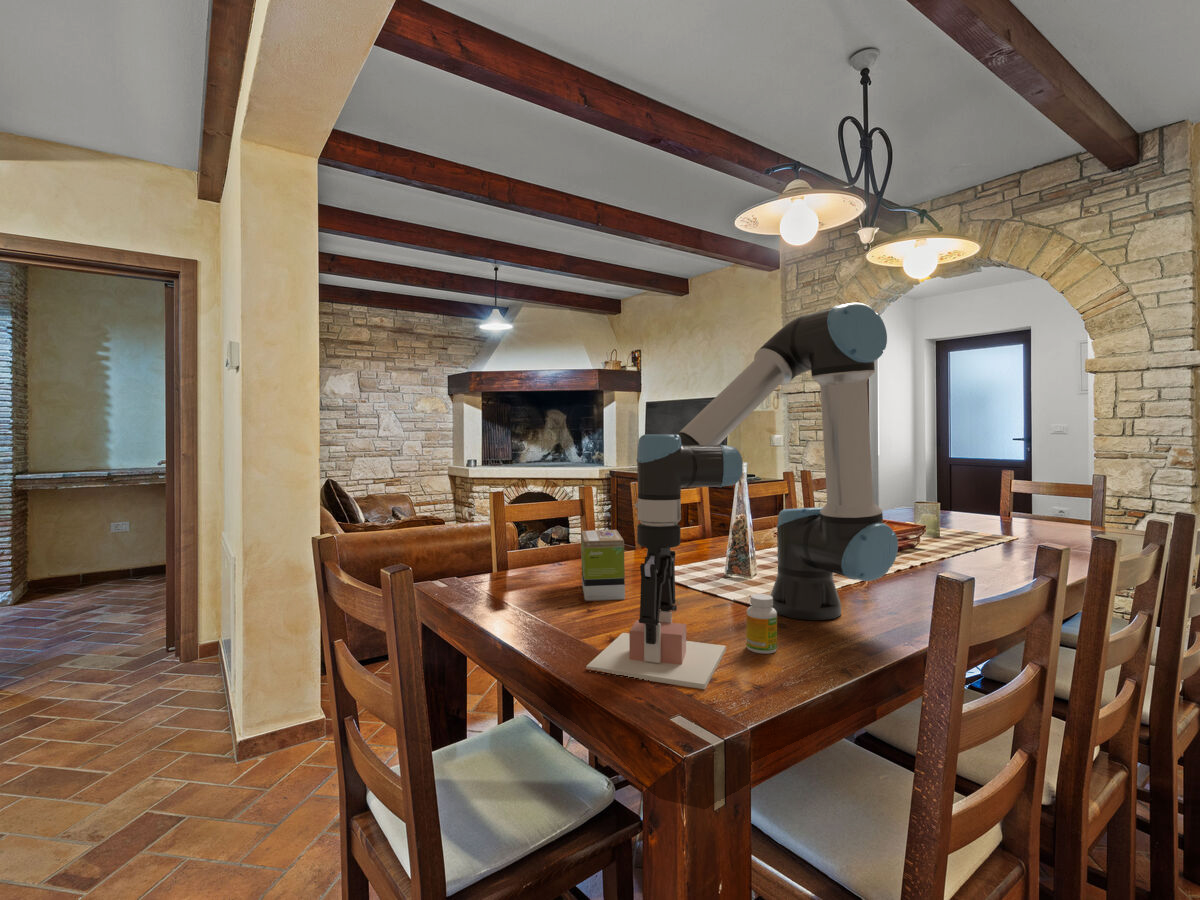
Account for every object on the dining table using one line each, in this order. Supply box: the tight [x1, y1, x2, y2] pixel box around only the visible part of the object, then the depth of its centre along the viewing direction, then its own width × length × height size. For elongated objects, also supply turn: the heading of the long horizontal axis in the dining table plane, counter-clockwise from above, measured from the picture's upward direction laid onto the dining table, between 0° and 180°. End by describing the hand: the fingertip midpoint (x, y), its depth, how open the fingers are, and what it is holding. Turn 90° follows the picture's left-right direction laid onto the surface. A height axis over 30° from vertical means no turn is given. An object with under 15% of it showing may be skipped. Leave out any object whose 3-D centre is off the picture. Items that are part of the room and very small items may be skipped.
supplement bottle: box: [746, 593, 778, 655], centre depth 109 cm, size 5×5×10 cm
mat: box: [586, 632, 727, 690], centre depth 104 cm, size 20×18×1 cm
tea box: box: [580, 529, 626, 602], centre depth 149 cm, size 15×10×15 cm
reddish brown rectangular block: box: [628, 619, 687, 664], centre depth 104 cm, size 6×9×5 cm, turn 75°
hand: (658, 653), depth 104 cm, fingers closed on reddish brown rectangular block, 6 cm apart
